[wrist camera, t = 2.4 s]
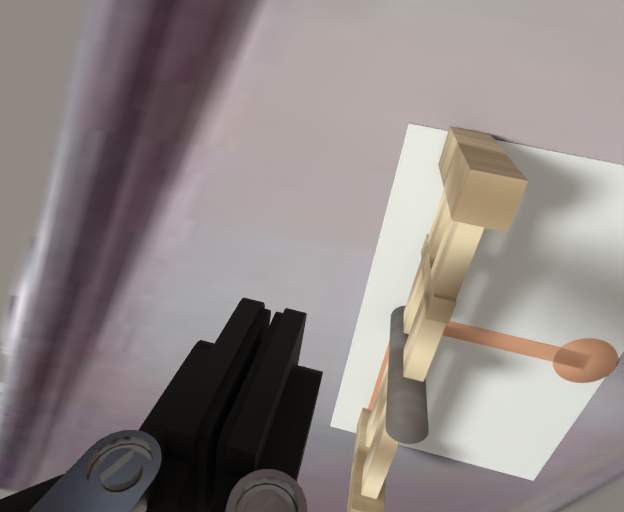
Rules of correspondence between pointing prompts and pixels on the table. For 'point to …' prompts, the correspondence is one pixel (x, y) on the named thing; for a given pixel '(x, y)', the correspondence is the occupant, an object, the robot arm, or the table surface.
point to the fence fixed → (387, 425)
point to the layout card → (502, 308)
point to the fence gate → (457, 236)
